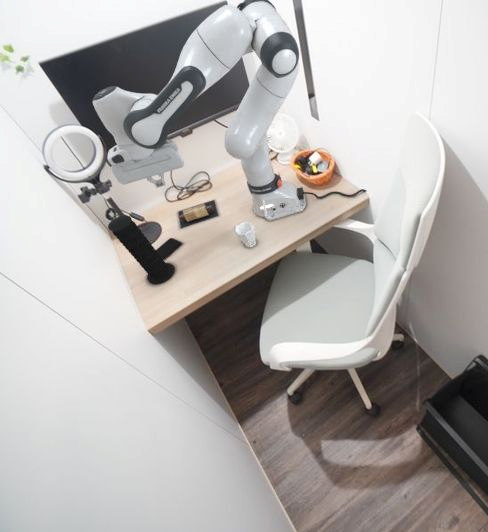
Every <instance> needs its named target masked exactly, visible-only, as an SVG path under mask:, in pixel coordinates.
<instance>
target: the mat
mask: <svg viewBox="0 0 488 532" xmlns="http://www.w3.org/2000/svg"><path fill="white" fill-rule="evenodd" d="M202 204H205V205H206V207H207V206H210V205H212V207H213V210H212V211H209V215H207V216H204V217H201V218H198V219H195V220H192V221H189V222H187V220H186V219H185V220H181V221H180V220H179V225H180V229H183V228H185V227H188V226H189V227H190V226H192V225H195V224H198V223H200V222H203V221H206V220H209V219H213V218H217V217H219V213H218V209H217V206H216V202H215V199H213V200H209V201H207V202H206V201H205V202H204V203H201V204H197V205H195V206H192V207H187V208H185V209H182V210H178V216H179V215H182V214H183V210H186V209H189V208H193V207H196V206H199V205H202Z"/></svg>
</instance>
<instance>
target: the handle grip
mask: <svg viewBox="0 0 488 532" xmlns="http://www.w3.org/2000/svg"><path fill="white" fill-rule="evenodd" d="M107 228H108V230H109V231H111V232H112V234H113V235H114V236H115V237H116V239H117V240H118V241H119V242H120V243H121V244H122V246H123V247H124V248H125V249H126V251H128V253H129V254H130V255H131V256H132V257H133V259H134V260H135V261H136V262H137V263H138V264H139V265H140V266H141V267H142V269H143V270H144V271H145V272H146V274H147V275H146V280H147V282H148V283H149V284H150V285H162V284H163V283H166V282H167V281H169V280H170V279H171V278H173V276H174V274H175V272H176V268H175V265H173V264H172V263H170V262H166V261H164V260H165V259H164V260H163V259H162V258H161V256H160V255H159V254H158V253H157V251H156V250H157V249H155V246H153V244H152V243H151V242H150V240H149V239H148V238H147V236H145V234H144V233H143V232H142V230H141V229H140V228H139V226H138V225H137V224H136V222H135V221H134V220H132V217H131V216H130V215H126V214H125V215H120V216H117V217H115V218H113V219H111V221H110V222H109V223H108V225H107Z"/></svg>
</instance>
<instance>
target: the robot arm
mask: <svg viewBox="0 0 488 532" xmlns="http://www.w3.org/2000/svg"><path fill="white" fill-rule="evenodd" d="M253 52H254V53H255V54H256V56H257V58H258V59H259V60H260V62H261V63H260V65H259V67H258V69H257V71H256V72H255V74H254V76H253V78H252V80H251V82H250V83H249V86H248V88H247V90H246V92H245V94H244V96H243V98H242V100H241V101H240V104H239V106H238V108H237V110H236V112H235V114H234V115H233V117H232V119H231V121H230V123H229V124H228V127H227V129H226V131H225V135H224V148H225V151H226V152H227V153H228V155H229V156H231V157H232V158H233V159H236V160H239V161H240V164H241V168H242V171H243V173H244V176H245V178H246V179H245V180H246V185H247V188H248V191H249V193H250V195H251V196H252V203H253V211H254V214H255V215H257V216H258V217H261V218H265V220H267V221H273V220H278V219H280V218H284V217H287V216H290V215H293V214H297V213H300V212H302V211H304V209H305V207H306V204H307V200H306V196H305V195H312V196H314V197H315V198H317V199H325V198H326V197H328V196H330V195H333V194H338V195H341V196H344V197H354V196H356V195H358V194H359V193H361V192H367V189H365V188H361V189H359V190H358V191H356V192H354V193H352V194H347V193H343V192H341V191H336V190H335V191H330V192H328V193H326V194H324V195H321V196H318V194H316V193H314V192H311V191H304V188H303V186H302V187H296V185H295V184H294V183H292V182H288V181H286V180H282V177H281V174H280V172H278V174H277V173H275V171H274V167H273V164H272V160H271V156H270V149H269V142H268V141H269V140H268V133H267V132H268V130H269V129H270V127H271V125H272V123H273V121H274V119H275V118H276V115H277V114H278V112H279V110H280V109H281V107H282V106H283V105H284V103H285V101H286V99H287V97H288V96H289V94H290V93H291V91H292V89H293V87H294V85H295V82H296V79H297V77H298V74H299V72H300V63H299V61H300V49H299V45H298V43H297V40H296V38H295V37H294V35H293V34H292V32H291V29H290V27H289V26H288V24H287V22H286V21H285V20H284V18H283V17H282V16H281V14H280V13H279V12H278V10H277V8H276V7H275V5H274V4H273V3H272V2H271V1H270V0H243V1H242V2H240V3H238V5H237V6H234V5H232V4H225V5H222V6H221V7H219V8H218V9H216V10H215V11H213V12H212V13H211V14H209V15H208V16H207V17H206V18H205V19H204V20H203V21H202V22H201V23H199V25H198V26H197V27H196V28H195V29H194V30H193V32H192V33H191V34H190V36H189V37H188V39H187V40H186V42H185V43H184V45H183V48H182V49H181V51H180V55H179V58H178V61H177V62H176V67H175V69H174V72H173V74H172V76H171V78H170V79H169V81H168V83H167V84H166V85H165V86H164V87H163V89H162V90H161V91H160V92H159V93H158V94H156V93H152V92H148V93H141V92H133V91H128V90H125V89H123V88H120V87H119V86H113V85H112V86H108V87H105V88H103V89H101V90H100V91H98V92H97V93H96V94H95V95H94V97H93V99H92V105H93V107H94V110H95V112H96V114H97V116H98V117H99V119H100V121H101V123H102V124H103V126H104V127H105V129H106V130H107V131H108V132H109V133H110V134H111V135H112V136H113V139H114V141H115V144H116V145H114V146H113V147H111V148H110V149H109V150H108V152H107V162H108V163H109V164H110V165H111V171H112V173H113V175H114V177H115V179H116V180H117V182H118V183H119V184H121V185H128V184H131V183H136V182H138V181H141V180H145V179H146V180H147V182H149V183H151V184H153V185H154V186H155V188H156V189H158V188H160V187H164V186H166V185H167V184H166V181H165V180H164V179H165V178H164V175H165V173H168V172H171V171H174V170H178V169H181V168H183V167H184V165H185V162H184V158H183V157H182V154H180V152H179V148H178V146H177V144H176V142H175V141H174V140H171V139H168V135H169V131H170V129H171V127H172V125H173V124H174V123H175V122H176V121H177V119H179V117H180V116H181V115H182V114H183V113H184V112H185V111H186V110H187V108H188V107H190V105H191V104H192V103H194V101H195V100H196V99H197V98H199V96H201V95H202V94H203V93H204V92H206V91H207V90H208V89H209V88H210V87H212V86H213V85H214V84H215V83H217V82H218V81H220V80H221V79H223V77H224V76H225V75H226V74H228V73H229V72H230V71H231V70H232V69H233V67H235V65H237V63H238V62H239V61H240V60H241V58H242V57H243V56H245V55H249V54H251V53H253ZM155 176H158V177H159V178H160V179H155V178H153V177H155Z"/></svg>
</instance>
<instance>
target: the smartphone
mask: <svg viewBox="0 0 488 532" xmlns="http://www.w3.org/2000/svg"><path fill="white" fill-rule="evenodd" d="M180 246H182V241H180V240H178V239H175V238H174V237H170V238H168V239H167V240H166V241H165V242H164V243H162V244H161V245H160V246H159V247H157V249H155V250H156V251H157V253H158V254H159V255H160V256H161V258H162V259H163V260H165V259H167V258H168V257H169V256H170V255H171V254H172V253H174V252H175V251H176V250H177V249H178V248H180Z"/></svg>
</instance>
